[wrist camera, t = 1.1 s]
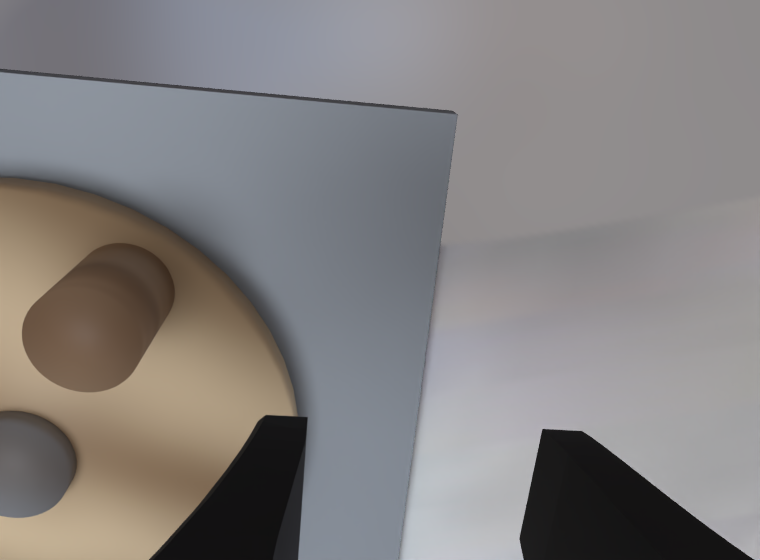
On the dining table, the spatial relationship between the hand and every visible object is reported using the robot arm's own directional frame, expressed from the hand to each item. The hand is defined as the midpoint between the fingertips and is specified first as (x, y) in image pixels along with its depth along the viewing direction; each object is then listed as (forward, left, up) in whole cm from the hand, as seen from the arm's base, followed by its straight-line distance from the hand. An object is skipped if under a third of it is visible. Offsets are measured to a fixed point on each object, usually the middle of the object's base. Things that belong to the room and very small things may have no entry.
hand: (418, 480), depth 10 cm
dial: (-6, +10, -9) cm, 14 cm away
